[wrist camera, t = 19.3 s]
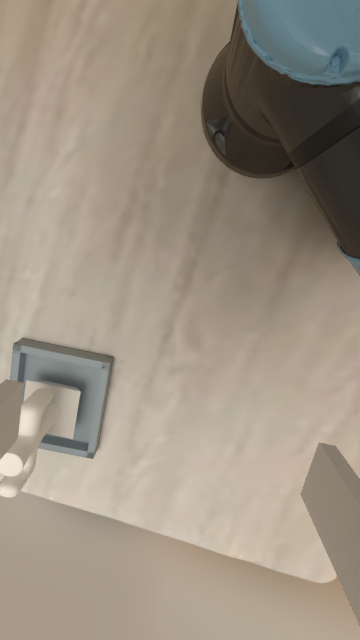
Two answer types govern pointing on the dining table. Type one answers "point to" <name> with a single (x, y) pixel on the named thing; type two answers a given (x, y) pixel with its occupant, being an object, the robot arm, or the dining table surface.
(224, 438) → the dining table surface
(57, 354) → the tray
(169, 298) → the dining table surface
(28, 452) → the figurine
